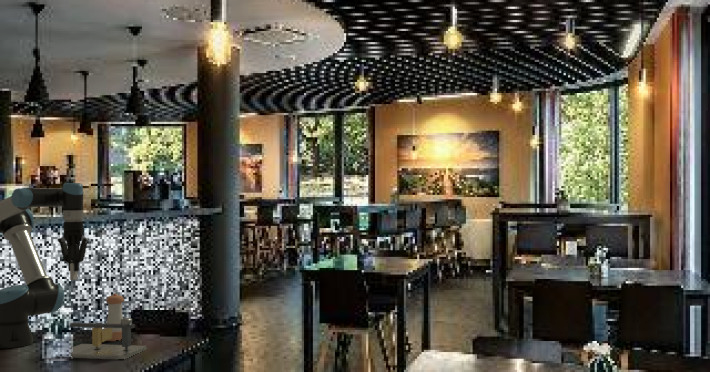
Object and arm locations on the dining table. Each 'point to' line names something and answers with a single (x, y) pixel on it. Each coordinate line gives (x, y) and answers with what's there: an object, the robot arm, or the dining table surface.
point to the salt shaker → (115, 315)
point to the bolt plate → (105, 351)
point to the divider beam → (125, 325)
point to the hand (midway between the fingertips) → (73, 279)
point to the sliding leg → (100, 335)
